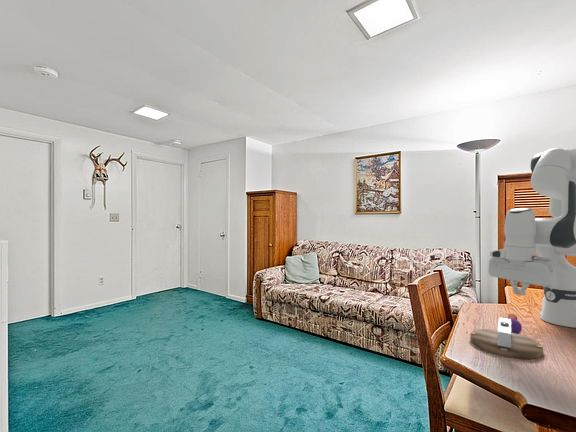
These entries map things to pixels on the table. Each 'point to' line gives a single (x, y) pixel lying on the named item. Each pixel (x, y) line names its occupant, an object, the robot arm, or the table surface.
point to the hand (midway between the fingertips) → (519, 294)
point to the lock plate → (519, 347)
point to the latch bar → (504, 332)
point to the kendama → (515, 324)
